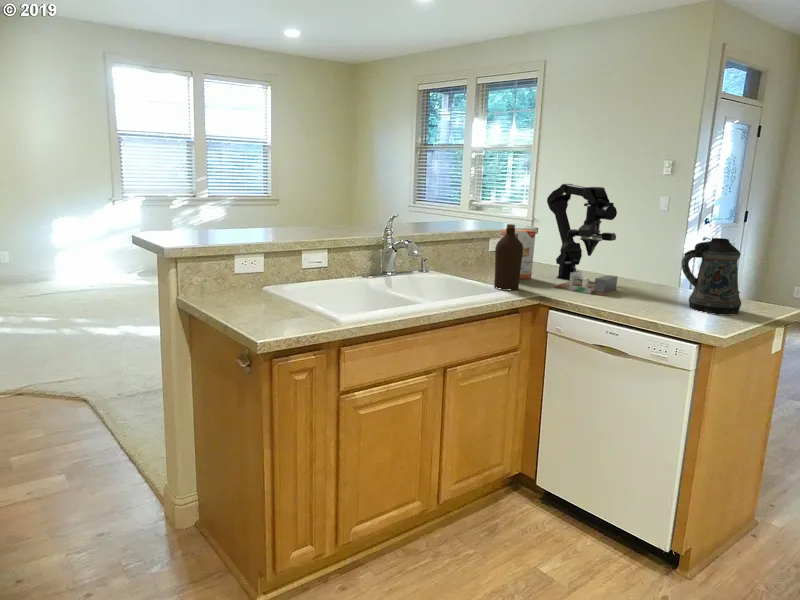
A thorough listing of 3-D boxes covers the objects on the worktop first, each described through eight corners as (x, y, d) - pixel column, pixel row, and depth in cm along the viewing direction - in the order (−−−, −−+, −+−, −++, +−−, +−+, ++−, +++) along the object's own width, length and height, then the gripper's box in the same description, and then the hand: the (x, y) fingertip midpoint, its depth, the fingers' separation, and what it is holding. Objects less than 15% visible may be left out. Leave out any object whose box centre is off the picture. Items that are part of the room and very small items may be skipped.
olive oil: (507, 292, 231) (512, 226, 226) (487, 287, 239) (491, 223, 234) (525, 289, 238) (530, 225, 233) (504, 284, 246) (509, 223, 241)
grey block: (566, 285, 241) (568, 273, 240) (577, 282, 248) (579, 270, 247) (579, 287, 238) (580, 274, 237) (589, 284, 245) (591, 272, 244)
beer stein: (750, 315, 207) (763, 242, 202) (701, 315, 203) (712, 241, 198) (717, 304, 223) (727, 236, 218) (670, 304, 219) (679, 235, 214)
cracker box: (502, 279, 257) (506, 230, 253) (496, 277, 263) (499, 229, 258) (532, 279, 261) (536, 230, 257) (525, 276, 267) (529, 229, 262)
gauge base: (553, 288, 243) (554, 282, 243) (569, 283, 254) (570, 278, 254) (601, 296, 230) (602, 290, 230) (616, 291, 241) (617, 286, 241)
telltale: (581, 288, 237) (582, 278, 236) (583, 287, 238) (584, 277, 237) (585, 288, 236) (586, 278, 235) (587, 288, 237) (588, 278, 236)
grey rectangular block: (593, 291, 234) (595, 278, 233) (606, 287, 243) (607, 275, 242) (603, 292, 231) (605, 279, 230) (616, 288, 240) (617, 276, 239)
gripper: (563, 216, 249) (559, 254, 252) (607, 220, 237) (603, 260, 240) (575, 215, 257) (571, 252, 260) (618, 219, 245) (614, 257, 248)
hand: (589, 255), depth 252 cm, fingers closed
